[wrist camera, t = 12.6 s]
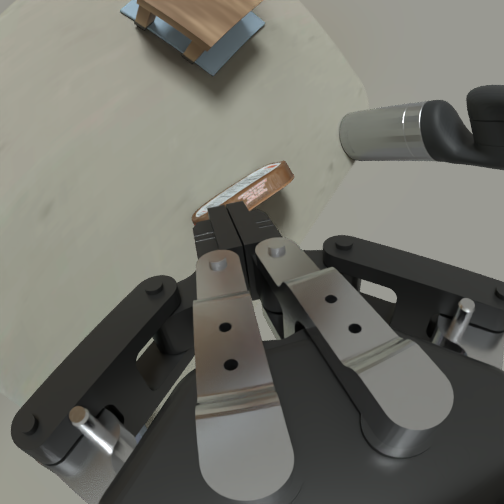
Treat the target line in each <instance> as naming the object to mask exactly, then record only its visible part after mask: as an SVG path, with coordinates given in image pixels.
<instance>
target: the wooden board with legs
mask: <svg viewBox="0 0 504 504" xmlns="http://www.w3.org/2000/svg"><path fill="white" fill-rule="evenodd" d="M262 1H263V0H137V4H138V5H139V7H138V11H137V15H136V19H135V23H134V24H135V25H137V26H139V27H140V28H142V29H143V30H146V29H147V28H148V27H149V26H150V25H151V24H152V23H153V22H154V20H155V18H156V16H157V17H159V18H160V19H162V20H163V21H165V22H166V23H168V24H169V25H171V26H172V27H173V28H175V29H176V30H178V31H179V32H181V33H182V34H183V35H185V36H186V37H188V38H189V39H190V40H192V41H191V43H190V44H189V46H188V47H187V49H186V50H185V52H184V53H183V55H182V57H183V58H185V59H186V60H188V61H189V62H190V63H192V64H193V63H194V62H195V61H196V60H197V59H198V58H199V57H200V56H201V55H202V53H203V52H204V51H208V50H209V49H210V48H211V47H212V46H213V45H214V44H215V43H217V42H218V41H219V40H220V39H221V38H222V37H223V36H224V35H225V34H226V33H227V32H228V31H229V30H230V29H231V28H232V27H233V26H234V25H236V24H237V23H238V22H239V21H240V20H241V19H242V18H243V17H245V16H246V15H247V14H248V13H249V12H250V11H251V10H253V9H254V8H255V7H256V6H257V5H259V4H260V3H261V2H262Z"/></svg>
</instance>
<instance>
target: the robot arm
mask: <svg viewBox="0 0 504 504" xmlns="http://www.w3.org/2000/svg"><path fill="white" fill-rule="evenodd" d="M467 110H468V115H469V118H470V123H471V128H472V133H473V134H472V133H471V132H470V131H469V130H468V129H467V128H466V126H465V125H464V124H463V122H462V120H461V119H460V117H459V115H458V113H457V112H456V110H455V109H454V108H453V107H452V106H451V105H450V104H449V103H448V102H446V101H443V100H433V101H425V102H417V103H410V104H402V105H395V106H388V107H382V108H376V109H370V110H363V111H358V112H353V113H349V114H347V115H346V116H345V117H344V118H343V120H342V122H341V125H340V140H341V144H342V146H343V149H344V150H345V152H346V153H347V154H348V155H349V156H350V157H351V158H352V159H354V160H359V161H372V160H375V161H380V160H381V161H385V160H387V161H388V160H389V161H390V160H391V161H395V160H396V161H440V162H449V163H454V164H466V165H473V166H480V167H486V168H492V169H500V170H504V85H486V86H481V87H477V88H474V89H473V90H471V91H470V92H469V93H468V95H467ZM207 211H208V217H209V220H204V221H200V222H197V223H196V225H195V226H194V228H193V233H194V239H195V245H196V251H197V256H198V261H197V263H196V271H195V272H194V273H193V274H192V275H191V276H189V277H188V278H186V279H184V280H182V281H180V282H178V283H176V281H175V280H174V279H173V278H172V277H169V276H165V275H160V276H154V277H151V278H148V279H146V280H144V281H143V282H141V283H140V284H139V285H138V286H137V287H136V288H135V289H134V290H133V291H132V292H131V293H129V294H128V295H127V296H126V297H125V298H124V299H123V300H122V301H121V302H120V303H119V304H118V305H117V306H116V307H115V308H114V309H113V310H112V311H111V312H110V313H109V314H108V315H107V316H106V317H105V318H104V319H103V320H102V321H101V322H100V323H99V324H98V325H97V326H96V327H95V328H94V329H93V330H92V331H91V332H90V334H89V335H88V336H87V337H86V338H85V339H84V340H83V341H82V342H81V343H80V344H79V345H78V346H77V347H76V348H75V349H74V350H73V351H72V352H71V353H70V354H69V355H68V357H67V358H66V359H65V360H64V361H63V362H62V363H61V364H60V365H59V366H58V367H57V368H56V369H55V370H54V372H53V373H52V374H51V375H50V376H49V377H48V378H47V379H46V380H45V381H44V383H43V384H42V385H41V386H40V387H39V388H38V389H37V390H36V391H35V393H34V394H33V395H32V396H31V397H30V398H29V399H28V401H27V402H26V403H25V404H24V405H23V406H22V407H21V409H20V410H19V411H18V412H17V414H16V415H15V417H14V419H13V421H12V425H11V436H12V439H13V441H14V443H15V444H16V445H17V446H18V447H19V448H20V449H21V450H23V451H24V452H25V453H27V454H28V455H30V456H31V457H33V458H34V459H35V460H36V461H37V462H38V463H39V464H41V465H42V466H44V467H46V468H47V469H49V470H50V471H52V472H53V473H55V474H57V476H59V477H60V478H61V479H62V480H63V481H64V482H65V483H66V484H67V485H68V486H69V487H70V488H71V489H72V490H73V491H74V492H75V493H77V494H78V495H79V496H80V497H81V498H82V499H83V500H85V501H86V502H87V503H88V504H504V371H502V364H503V353H504V282H502V281H499V280H496V279H493V278H489V277H486V276H483V275H481V274H477V273H474V272H471V271H468V270H465V269H462V268H459V267H455V266H452V265H449V264H445V263H442V262H439V261H436V260H433V259H429V258H426V257H423V256H419V255H416V254H412V253H409V252H405V251H402V250H398V249H395V248H392V247H388V246H385V245H381V244H377V243H374V242H370V241H367V240H363V239H359V238H356V237H352V236H345V235H338V236H333V237H330V238H328V239H327V240H326V241H325V242H324V243H323V250H311V251H310V250H302V249H301V248H300V247H299V246H298V245H297V244H296V243H295V242H294V241H293V240H291V239H288V238H283V237H282V236H281V234H280V233H279V231H278V230H277V228H276V227H275V226H274V225H273V223H272V221H271V220H270V218H269V217H268V216H267V214H266V213H264V212H262V211H260V210H258V209H257V210H252V211H249V210H248V208H247V207H246V205H245V203H244V202H243V201H239V202H234V203H229V204H226V205H220V206H215V207H210V208H207ZM361 279H363V280H366V281H370V282H373V283H375V284H379V285H382V286H385V287H388V288H390V289H392V290H393V291H394V292H395V293H396V295H397V302H396V303H391V302H388V301H385V300H382V299H379V298H376V297H373V296H370V295H367V294H364V293H361V292H360V285H361ZM251 298H252V300H251ZM257 299H260V300H261V303H262V311H263V315H264V317H265V319H266V321H267V323H268V325H269V327H270V329H271V331H272V332H273V334H274V336H275V338H276V340H269V341H262V339H261V335H260V331H259V328H258V323H257V320H256V316H255V312H254V308H253V304H252V301H253V300H257ZM152 337H153V339H154V341H153V342H152V343H151V345H150V346H149V347H148V348H147V349H146V351H145V352H144V353H143V354H142V355H141V357H140V358H139V359H138V360H137V361H136V358H137V355H138V353H139V352H140V351H141V349H142V348H143V347H144V346H145V345H146V344H147V342H148V341H149V340H150V339H151V338H152ZM194 355H195V369H194V370H192V371H191V372H190V373H188V374H187V375H186V376H185V377H184V378H183V379H182V380H181V381H180V382H179V383H178V384H177V386H176V387H175V389H174V390H173V391H172V393H171V394H170V396H169V397H168V399H167V400H166V402H165V403H164V405H163V407H162V408H161V410H160V411H159V412H158V414H157V415H156V417H155V418H154V420H153V421H152V423H151V424H150V426H149V427H148V429H147V430H146V432H145V433H144V435H143V436H142V438H141V439H140V441H139V442H138V444H137V442H136V439H135V437H136V435H137V434H138V433H139V431H140V430H141V429H142V427H143V426H144V425H145V423H146V422H147V420H148V419H149V418H150V416H151V415H152V414H153V412H154V411H155V409H156V408H157V407H158V405H159V404H160V403H161V401H162V400H163V398H164V397H165V396H166V394H167V393H168V392H169V390H170V389H171V387H172V386H173V385H174V383H175V382H176V380H177V379H178V378H179V376H180V375H181V374H182V372H183V371H184V369H185V368H186V367H187V365H188V364H189V362H190V361H191V360H192V358H193V357H194Z"/></svg>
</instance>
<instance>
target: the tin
mask: <svg viewBox="0 0 504 504" xmlns="http://www.w3.org/2000/svg"><path fill="white" fill-rule="evenodd" d="M293 179H294V174H292V172H291V170H290V168H289V166H288V165H287V163H286V162H285V161H281V162H277V163H271V164H268V165H266V166H264V167H262V168H260V169H258V170H256V171H254V172H253V173H251V174H249V175H248V176H246V177H244V178H243V179H241V180H240V181H238V182H237V183H235V184H233V185H232V186H230V187H229V188H227V189H226V190H224V191H223V192H221V193H220V194H218V195H217V196H215V197H214V198H212V199H211V200H209V201H208V202H207V203H205V204H204V205H203V206H202V207H200V208H199V209H198V210H197V211H196V212H195V213H194V214H193V216H192V222H193V223H194V225H196V223H197V222H200V221H204V220H209V217H208V211H207V208H210V207H215V206H220V205H226V204H229V203H234V202H239V201H243V202H244V203H245V205H246V207H247V208H248V210H249V211H251V210H252V209H254V208H255V207H256V206H258V205H259V204H261V203H262V202H264V201H265V200H266V199H268V198H269V197H271V196H272V195H274V194H275V193H277V192H278V191H280V190H281V189H283V188H284V187H285V186H287V185H288V184H289V183H290V182H291V181H292V180H293Z"/></svg>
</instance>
